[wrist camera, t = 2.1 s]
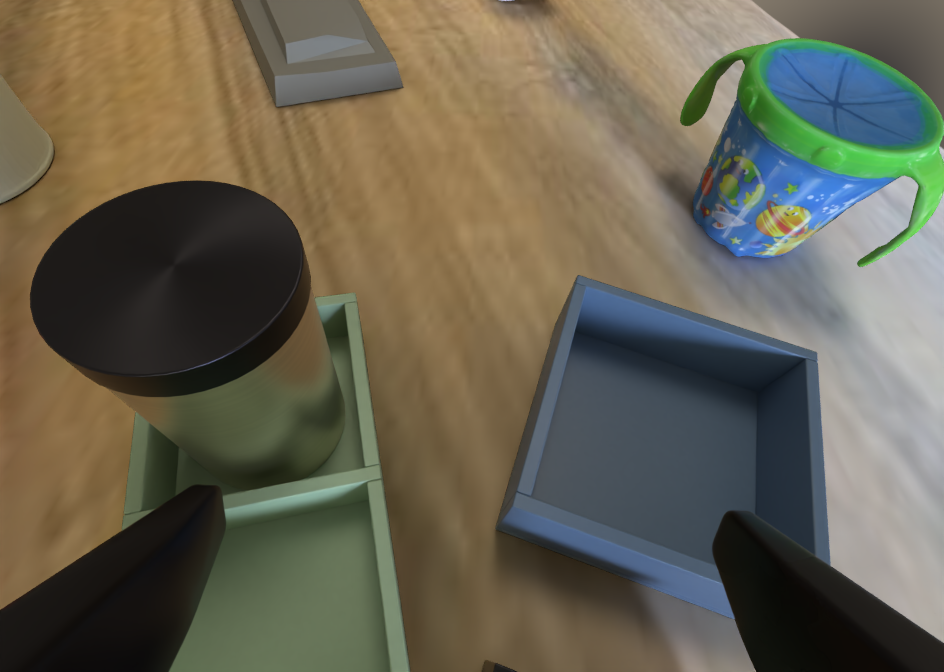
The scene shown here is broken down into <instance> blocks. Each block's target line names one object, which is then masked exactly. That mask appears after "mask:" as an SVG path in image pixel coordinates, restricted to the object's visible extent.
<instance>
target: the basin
mask: <svg viewBox="0 0 944 672" xmlns="http://www.w3.org/2000/svg"><path fill="white" fill-rule="evenodd" d="M817 361H818V359H817V352H814V351H811V350H808V349H805V348H802V347H799V346H796V345H793V344H790V343H787V342H783V341H780V340H777V339H774V338H771V337H768V336H765V335H762V334H759V333H756V332H753V331H750V330H746V329H743V328H740V327H737V326H734V325H731V324H728V323H725V322H722V321H719V320H716V319H713V318H709V317H706V316H703V315H700V314H697V313H694V312H691V311H688V310H685V309H682V308H679V307H676V306H672V305H669V304H666V303H663V302H660V301H657V300H654V299H651V298H648V297H645V296H642V295H638V294H635V293H632V292H629V291H626V290H623V289H620V288H617V287H614V286H611V285H608V284H605V283H601V282H598V281H595V280H592V279H589V278H586V277H583V276H580V275H578V276H577V278H576V280H575V282H574V284H573V286H572V289H571V291H570V293H569V295H568V297H567V300H566V302H565V304H564V306H563V309H562V311H561V313H560V315H559V317H558V320H557V322H556V324H555V328H554V331H553V334H552V338H551V341H550V345H549V348H548V351H547V355H546V358H545V362H544V365H543V368H542V372H541V375H540V379H539V382H538V385H537V389H536V392H535V395H534V399H533V402H532V406H531V409H530V412H529V416H528V419H527V423H526V426H525V429H524V433H523V436H522V440H521V443H520V446H519V450H518V453H517V457H516V460H515V463H514V467H513V470H512V473H511V477H510V480H509V484H508V487H507V490H506V494H505V497H504V501H503V504H502V507H501V511H500V514H499V518H498V521H497V524H496V528H495V529H496V530H499V531H501V532H504V533H507V534H509V535H512V536H515V537H517V538H520V539H523V540H525V541H528V542H530V543H533V544H536V545H538V546H541V547H544V548H546V549H549V550H552V551H554V552H557V553H560V554H562V555H565V556H568V557H570V558H573V559H576V560H578V561H581V562H584V563H586V564H589V565H592V566H594V567H597V568H600V569H602V570H605V571H607V572H610V573H613V574H615V575H618V576H621V577H623V578H626V579H629V580H631V581H634V582H637V583H639V584H642V585H645V586H647V587H650V588H653V589H655V590H658V591H661V592H663V593H666V594H669V595H671V596H674V597H676V598H679V599H682V600H684V601H687V602H690V603H692V604H695V605H698V606H700V607H703V608H706V609H708V610H711V611H714V612H716V613H719V614H722V615H724V616H727V617H730V618H732V619H735V618H734V615H733V613H732V610H731V607H730V604H729V601H728V598H727V595H726V592H725V589H724V586H723V584H722V581H721V578H720V575H719V572H718V569H717V566H716V563H715V560H714V557H713V553H712V543H713V540H714V537H715V535H716V532H717V530H718V527H719V525H720V522H721V520H722V518H723V515H724V514H725V513H726V512H727V511H730V510H736V511H749V512H752V513H754V514H755V515H757V516H758V517H760V518H761V519H762V520H764V521H765V522H767V523H768V524H770V525H771V526H773V527H774V528H776V529H777V530H779V531H780V532H781V533H783V534H784V535H786V536H787V537H789V538H790V539H792V540H793V541H795V542H796V543H798V544H799V545H801V546H802V547H803V548H805V549H806V550H808V551H809V552H811V553H812V554H814V555H815V556H817V557H818V558H820V559H821V560H823V561H824V562H825V563H827V564H828V565H830V550H829V534H828V518H827V503H826V487H825V471H824V455H823V439H822V423H821V407H820V391H819V375H818V363H817Z"/></svg>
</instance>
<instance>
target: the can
mask: <svg viewBox="0 0 944 672" xmlns="http://www.w3.org/2000/svg"><path fill="white" fill-rule="evenodd" d="M53 155H54V147H53V143H52V140H51V138H50V136H49V135H48V133H47V132H46V131H45V130H44V129H43V128H42V127H41V126H39V124H38V123H37V122H36V121H35V119H34V118H33V117H32V116H31V114H30V113H29V112H28V111H27V109H26V108H25V107H24V105H23V104H22V103H21V101H20V100H19V99H18V97H17V96H16V95H15V93H14V92H13V91H12V89H11V88H10V87H9V85H8V84H7V83H6V81H5V80H4V78H3V77H2V76H1V74H0V203H3V202H5V201H7V200H9V199H11V198H13V197H15V196H17V195H19V194H20V193H22V192H23V191H25V190H26V189H28V188H29V187H31V186H32V185H33V184H34V183H36V182H37V181H38V180H39V179H40V178H41V177H42V176H43V174H44V173H45V172H46V171H47V169H48V168H49V166H50V164H51V162H52V159H53Z"/></svg>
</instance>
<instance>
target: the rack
mask: <svg viewBox="0 0 944 672" xmlns="http://www.w3.org/2000/svg"><path fill="white" fill-rule="evenodd" d="M315 301H316V305H317V308H318V312H319V315H320V319H321V322H322V325H323V329H324V332H325V336H326V339H327V343H328V346H329V350H330V353H331V356H332V360H333V363H334V367H335V370H336V374H337V377H338V381H339V384H340V387H341V391H342V394H343V398H344V403H345V412H346V416H345V425H344V429H343V433H342V435H341V438H340V440H339V442H338V444H337V446H336V448H335V450H334V451H333V452H332V454H331V455H330V456H329V458H328V459H327V460H326V461H325V462H324V463H323V464H322V465H321V466H320V467H319V468H318V469H317V470H316V471H314V472H313V473H312V474H310V475H309V476H307V477H306V478H304V479H302V480H299V481H294V482H289V483H284V484H279V485H274V486H269V487H264V488H259V489H253V490H242V489H238V488H235V487H232V486H230V485H228V484H225V483H224V482H222V481H221V480H219V479H217V478H216V477H215V476H214V475H213V474H211V473H210V472H209V471H208V470H206V469H205V468H204V467H203V466H202V465H200V464H199V463H198V462H197V461H195V460H194V459H193V458H192V457H191V456H189V455H188V454H187V453H186V452H184V451H183V450H182V449H181V448H180V447H178V446H177V445H176V444H175V443H173V442H172V441H171V440H170V439H169V438H167V437H166V436H165V435H164V434H162V433H161V432H160V431H159V430H158V429H156V428H155V427H154V426H153V425H151V424H150V423H149V422H148V421H147V420H145V419H144V418H143V417H142V416H140V415H139V414H138V413H137V412H135V420H134V429H133V437H132V446H131V454H130V463H129V471H128V480H127V488H126V497H125V505H124V516H123V523H122V530H124V529H125V528H127V527H128V526H130V525H132V524H133V523H135V522H136V521H138V520H139V519H141V518H142V517H144V516H145V515H147V514H148V513H150V512H151V511H153V510H155V509H156V508H158V507H159V506H161V505H162V504H164V503H165V502H167V501H168V500H170V499H171V498H173V497H175V496H176V495H178V494H179V493H181V492H182V491H184V490H185V489H187V488H188V487H190V486H192V485H195V484H207V485H217V486H219V487H220V488H221V491H222V495H223V502H224V509H225V516H226V530H225V534H224V537H223V540H222V543H221V545H220V548H219V551H218V554H217V556H216V559H215V562H214V565H213V567H212V570H211V573H210V576H209V578H208V581H207V584H206V587H205V589H204V592H203V595H202V598H201V600H200V603H199V606H198V609H197V611H196V614H195V616H194V619H193V621H192V624H191V626H190V629H189V631H188V633H187V635H186V637H185V640H184V642H183V644H182V646H181V648H180V650H179V652H178V654H177V656H176V658H175V660H174V662H173V665H172V667H171V669H170V671H169V672H411V671H410V664H409V657H408V650H407V643H406V636H405V629H404V622H403V615H402V608H401V601H400V594H399V587H398V580H397V573H396V566H395V559H394V552H393V545H392V538H391V531H390V524H389V517H388V510H387V503H386V496H385V489H384V482H383V475H382V468H381V461H380V454H379V447H378V440H377V433H376V426H375V419H374V412H373V405H372V398H371V391H370V384H369V377H368V370H367V363H366V356H365V349H364V342H363V335H362V329H361V323H360V317H359V311H358V305H357V299H356V294H355V293H347V294H339V295H331V296H323V297H315Z"/></svg>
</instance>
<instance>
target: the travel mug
mask: <svg viewBox="0 0 944 672" xmlns="http://www.w3.org/2000/svg"><path fill="white" fill-rule="evenodd" d="M30 308H31V312H32V316H33V320H34V323H35V325H36V327H37V329H38V332H39V334H40V335H41V336H42V338H43V339H44V340H45V342H46V343H47V344H48V345H49V346H50V347H51V348H52V349H53V350H54V351H55V352H56V353H58V354H59V355H60V356H61V357H62V358H64V359H65V360H66V361H67V362H69V363H70V364H71V365H72V366H74V367H75V368H76V369H77V370H79V371H80V372H81V373H82V374H84V375H85V376H86V377H88V378H89V379H91V380H92V381H94V382H96V383H97V384H99V385H101V386H104V387H106V388H107V389H109V390H110V391H111V392H112V393H114V394H115V395H116V396H117V397H118V398H120V399H121V400H122V401H123V402H125V403H126V404H127V405H128V406H129V407H131V408H132V409H133V410H134V411H136V412H137V413H138V414H139V415H140V416H142V417H143V418H144V419H145V420H147V421H148V422H149V423H150V424H151V425H153V426H154V427H155V428H156V429H158V430H159V431H160V432H161V433H162V434H164V435H165V436H166V437H167V438H169V439H170V440H171V441H172V442H173V443H175V444H176V445H177V446H178V447H180V448H181V449H182V450H183V451H184V452H186V453H187V454H188V455H189V456H191V457H192V458H193V459H194V460H195V461H197V462H198V463H199V464H200V465H202V466H203V467H204V468H205V469H206V470H208V471H209V472H210V473H211V474H213V475H214V476H215V477H216V478H217V479H219V480H221V481H222V482H224V483H225V484H228V485H230V486H232V487H235V488H238V489H242V490H253V489H259V488H264V487H269V486H274V485H279V484H284V483H289V482H294V481H299V480H302V479H304V478H306V477H307V476H309V475H310V474H312V473H313V472H314V471H316V470H317V469H318V468H319V467H320V466H321V465H322V464H323V463H324V462H325V461H326V460H327V459H328V458H329V456H330V455H331V454H332V452H333V451H334V450H335V448H336V446H337V444H338V442H339V440H340V438H341V435H342V433H343V429H344V425H345V416H346V412H345V403H344V398H343V394H342V391H341V387H340V384H339V381H338V377H337V374H336V370H335V367H334V363H333V360H332V356H331V353H330V350H329V346H328V343H327V339H326V336H325V332H324V329H323V325H322V322H321V319H320V315H319V312H318V308H317V305H316V301H315V298H314V294H313V291H312V288H311V276H310V271H309V266H308V262H307V259H306V255H305V251H304V248H303V244H302V241H301V238H300V236H299V233H298V230H297V229H296V227H295V225H294V224H293V222H292V220H291V219H290V218H289V217H288V216H287V214H286V213H285V212H284V211H283V210H282V209H280V208H279V207H278V206H277V205H276V204H275V203H273V202H272V201H270V200H269V199H267V198H266V197H264V196H262V195H260V194H258V193H256V192H254V191H251V190H248V189H246V188H243V187H240V186H236V185H231V184H227V183H221V182H214V181H178V182H170V183H163V184H158V185H153V186H149V187H145V188H141V189H138V190H134V191H132V192H129V193H126V194H123V195H121V196H118V197H116V198H114V199H112V200H110V201H107V202H105V203H103V204H101V205H100V206H98V207H96V208H94V209H93V210H91V211H89V212H88V213H86V214H85V215H84V216H82V217H81V218H79V219H78V220H76V221H75V222H74V223H73V224H72V225H70V226H69V227H68V228H67V229H66V230H65V231H64V232H63V233H62V234H61V235H60V236H59V237H58V238H57V239H56V240H55V241H54V242H53V243H52V245H51V246H50V248H49V249H48V250H47V252H46V253H45V254H44V256H43V258H42V260H41V262H40V263H39V265H38V267H37V270H36V272H35V275H34V278H33V281H32V286H31V292H30Z"/></svg>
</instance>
